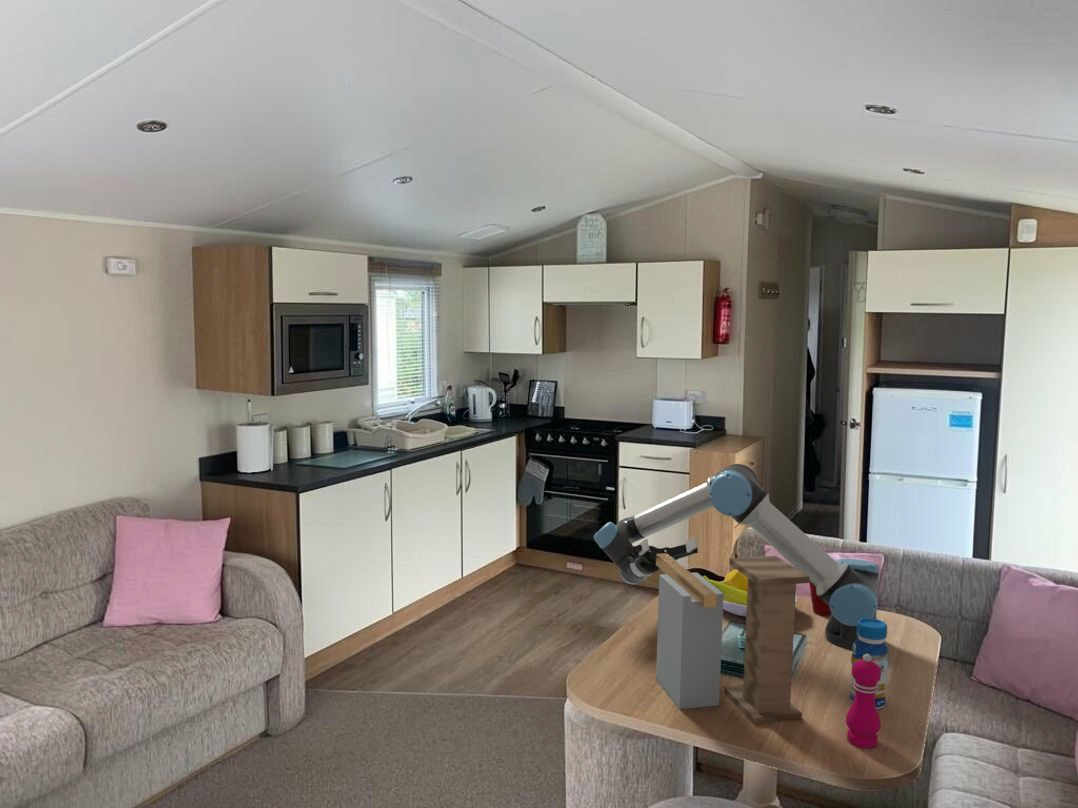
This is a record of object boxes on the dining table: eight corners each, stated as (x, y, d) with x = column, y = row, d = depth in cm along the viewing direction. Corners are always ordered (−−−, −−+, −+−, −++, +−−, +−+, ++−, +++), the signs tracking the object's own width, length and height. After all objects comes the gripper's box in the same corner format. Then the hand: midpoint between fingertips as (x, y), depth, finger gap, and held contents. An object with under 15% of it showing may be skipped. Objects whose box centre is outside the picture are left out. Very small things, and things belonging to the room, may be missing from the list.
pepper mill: (884, 750, 188) (890, 661, 185) (850, 749, 188) (856, 660, 185) (872, 733, 195) (878, 647, 192) (840, 732, 195) (845, 647, 193)
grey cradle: (656, 679, 221) (659, 574, 217) (693, 676, 223) (697, 572, 219) (679, 709, 205) (683, 596, 202) (719, 705, 207) (723, 593, 204)
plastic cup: (845, 610, 271) (847, 573, 270) (836, 621, 262) (838, 582, 261) (810, 603, 277) (811, 567, 275) (800, 614, 268) (802, 576, 266)
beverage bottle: (889, 700, 211) (895, 621, 208) (881, 714, 204) (886, 632, 201) (853, 691, 216) (858, 613, 213) (844, 704, 209) (849, 624, 206)
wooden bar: (655, 564, 230) (656, 553, 230) (666, 564, 231) (667, 553, 230) (703, 607, 199) (704, 594, 199) (716, 606, 200) (716, 594, 199)
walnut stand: (724, 692, 214) (729, 558, 210) (769, 688, 217) (775, 555, 212) (753, 724, 198) (760, 579, 194) (801, 719, 201) (809, 576, 197)
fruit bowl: (794, 600, 280) (796, 566, 278) (796, 631, 254) (798, 594, 252) (706, 591, 287) (707, 558, 286) (698, 621, 261) (700, 584, 260)
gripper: (690, 572, 248) (718, 554, 229) (606, 577, 243) (628, 559, 224) (686, 546, 251) (713, 526, 232) (602, 550, 246) (624, 531, 227)
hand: (671, 542), depth 228 cm, fingers open, 13 cm apart
